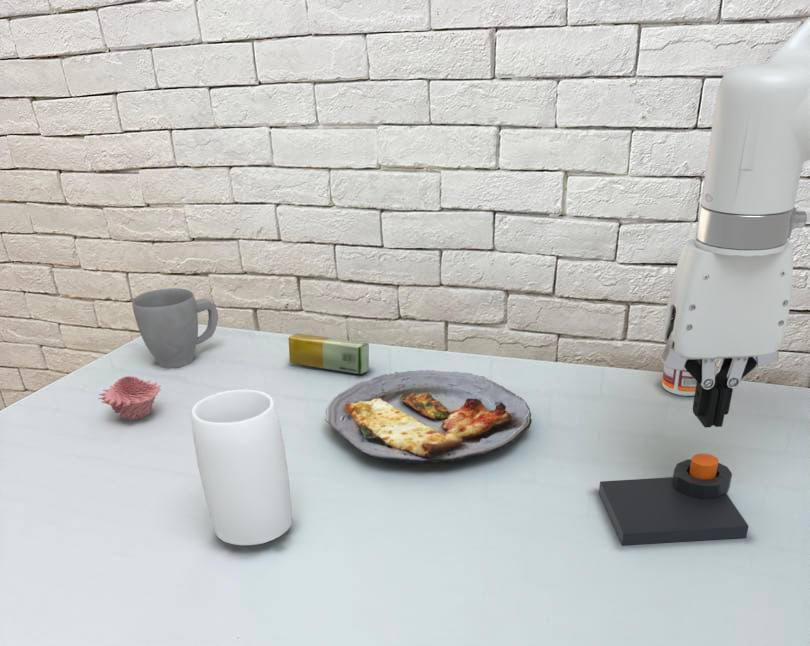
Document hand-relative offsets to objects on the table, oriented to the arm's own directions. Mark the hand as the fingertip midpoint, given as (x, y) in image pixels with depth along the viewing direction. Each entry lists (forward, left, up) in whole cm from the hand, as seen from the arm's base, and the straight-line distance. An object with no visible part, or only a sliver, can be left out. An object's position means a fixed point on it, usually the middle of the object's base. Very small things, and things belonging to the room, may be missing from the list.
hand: (708, 420), depth 84 cm
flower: (+65, -28, -9) cm, 71 cm away
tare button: (0, 0, -6) cm, 6 cm away
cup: (+46, +2, -9) cm, 47 cm away
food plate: (+27, -20, -9) cm, 35 cm away
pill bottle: (-7, -27, -9) cm, 29 cm away
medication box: (+40, -41, -9) cm, 58 cm away
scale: (+4, +3, -9) cm, 10 cm away
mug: (+62, -48, -9) cm, 79 cm away
